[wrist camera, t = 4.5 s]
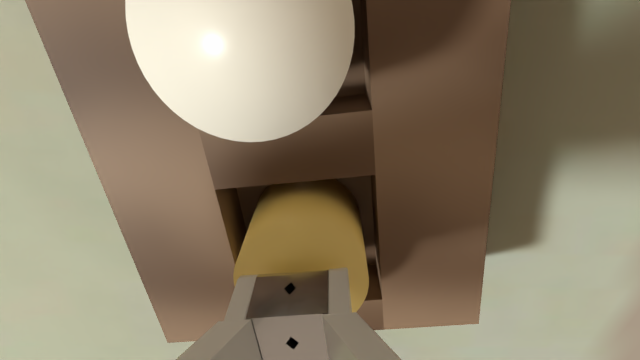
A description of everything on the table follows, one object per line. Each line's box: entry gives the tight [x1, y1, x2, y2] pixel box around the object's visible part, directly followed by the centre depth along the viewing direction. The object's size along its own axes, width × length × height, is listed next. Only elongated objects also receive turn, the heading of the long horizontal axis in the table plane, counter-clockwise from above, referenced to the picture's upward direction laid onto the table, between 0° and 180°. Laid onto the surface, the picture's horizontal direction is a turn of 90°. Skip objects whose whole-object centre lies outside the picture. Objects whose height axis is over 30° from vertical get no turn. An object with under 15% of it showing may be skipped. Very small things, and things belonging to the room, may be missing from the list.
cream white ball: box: [125, 0, 355, 142], centre depth 8 cm, size 4×4×4 cm
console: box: [25, 0, 511, 343], centre depth 11 cm, size 22×12×4 cm, turn 7°
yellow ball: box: [233, 179, 369, 312], centre depth 12 cm, size 4×4×4 cm
